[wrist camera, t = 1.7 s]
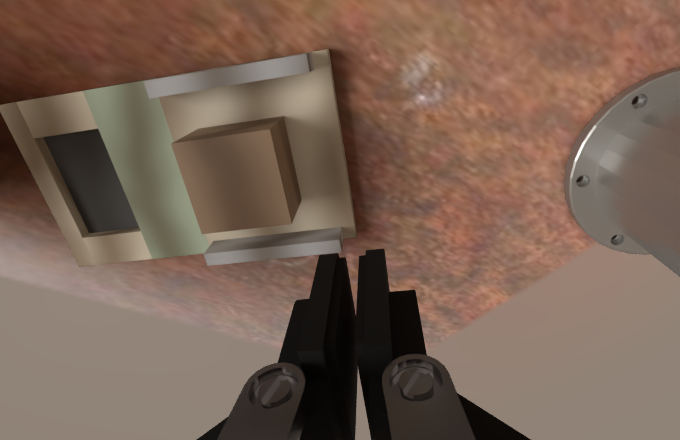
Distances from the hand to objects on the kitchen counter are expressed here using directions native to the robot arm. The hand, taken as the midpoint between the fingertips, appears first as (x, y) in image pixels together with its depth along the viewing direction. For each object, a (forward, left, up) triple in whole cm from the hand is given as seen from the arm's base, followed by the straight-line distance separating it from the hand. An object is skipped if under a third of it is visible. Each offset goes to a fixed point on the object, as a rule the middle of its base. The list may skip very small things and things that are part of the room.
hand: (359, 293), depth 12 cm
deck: (+13, 0, -17) cm, 21 cm away
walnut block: (+8, 0, -16) cm, 18 cm away
